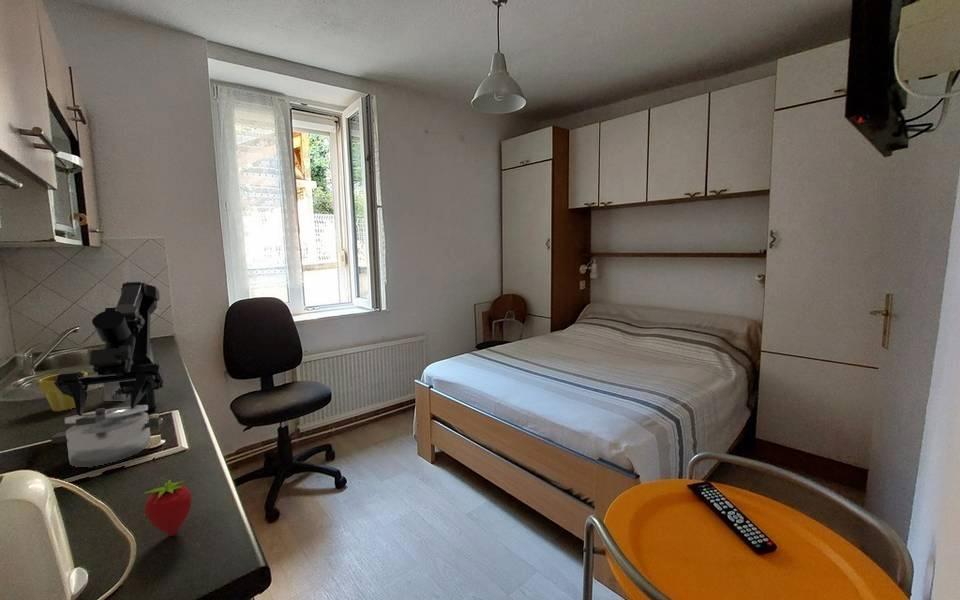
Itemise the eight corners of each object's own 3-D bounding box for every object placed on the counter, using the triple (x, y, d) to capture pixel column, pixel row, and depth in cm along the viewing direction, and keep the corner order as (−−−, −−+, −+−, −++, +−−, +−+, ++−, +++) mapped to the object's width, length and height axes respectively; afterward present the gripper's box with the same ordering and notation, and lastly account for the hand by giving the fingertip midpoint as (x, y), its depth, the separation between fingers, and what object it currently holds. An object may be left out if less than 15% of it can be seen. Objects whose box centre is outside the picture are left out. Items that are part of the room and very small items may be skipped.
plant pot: (60, 415, 118) (56, 382, 117) (33, 412, 120) (28, 380, 119) (100, 402, 128) (96, 372, 127) (74, 400, 130) (70, 370, 129)
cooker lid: (81, 417, 96) (81, 407, 96) (155, 406, 102) (154, 397, 102) (38, 431, 79) (37, 420, 79) (129, 418, 85) (129, 407, 86)
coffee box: (125, 393, 136) (120, 346, 135) (146, 392, 137) (141, 345, 135) (103, 402, 127) (98, 352, 126) (126, 401, 128) (121, 351, 126)
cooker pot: (72, 448, 96) (68, 420, 95) (169, 432, 104) (166, 406, 103) (41, 476, 83) (37, 444, 83) (154, 455, 92) (151, 425, 91)
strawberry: (150, 557, 60) (143, 493, 59) (146, 532, 66) (140, 473, 65) (198, 538, 64) (192, 478, 63) (191, 516, 70) (185, 460, 69)
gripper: (52, 338, 91) (32, 401, 82) (156, 330, 99) (148, 387, 91) (72, 365, 99) (56, 425, 90) (167, 355, 107) (160, 409, 98)
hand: (106, 411), depth 92 cm, fingers open, 9 cm apart
